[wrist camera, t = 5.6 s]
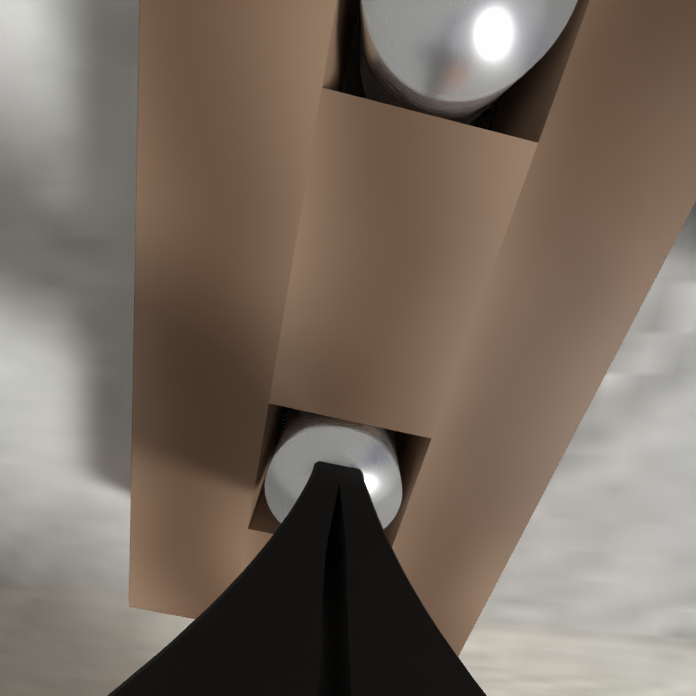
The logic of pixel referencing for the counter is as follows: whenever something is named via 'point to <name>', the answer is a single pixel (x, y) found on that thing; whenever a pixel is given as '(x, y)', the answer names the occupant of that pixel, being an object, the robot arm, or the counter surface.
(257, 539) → the wooden peg board
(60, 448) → the counter surface
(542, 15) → the peg
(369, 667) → the robot arm
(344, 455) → the peg
